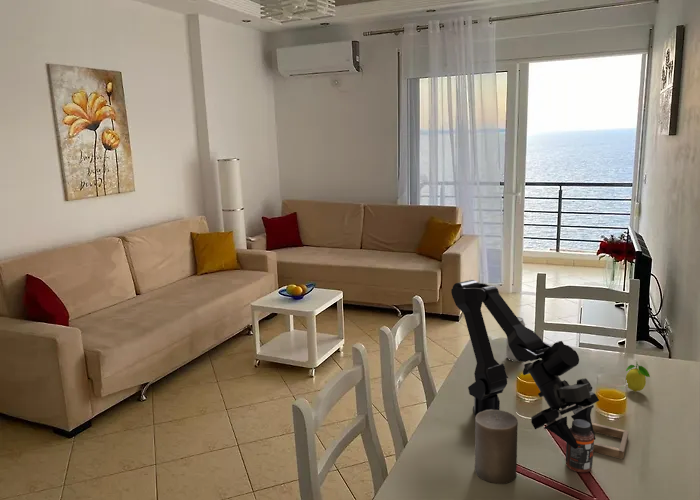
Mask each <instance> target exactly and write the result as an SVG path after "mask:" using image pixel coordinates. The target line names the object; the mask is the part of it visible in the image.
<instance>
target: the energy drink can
mask: <svg viewBox="0 0 700 500" xmlns="http://www.w3.org/2000/svg"><path fill="white" fill-rule="evenodd" d="M516 317H517V318H518V319H519V321H520V322H521V323H522V324H523V325H524V326H525V327H526V323H525V321H524V318H523V317H519V316H516ZM505 354H506V357H507V359H508V360H509V359H510V360H513V361H512V362H515V361H518V360H517V359H516V358H515V356H514V355H513V353H512V351H511V349H510V347H509V345H508V337H507V336H506V353H505ZM510 360H509V361H510ZM518 362H519V361H518Z"/></svg>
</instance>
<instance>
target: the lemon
mask: <svg viewBox="0 0 700 500" xmlns="http://www.w3.org/2000/svg"><path fill="white" fill-rule="evenodd" d="M635 363H636V365H635V364H629V366H627V368H626V370H625V371H626V372H627V371H628V372H627V373H626V377H625V381H626V380H627V383H628V387H627V388H628V389H629V390H631V391H632V392H633V393H637V392H641V391H642V390H644V388H645V387H646V383H647V380H646V377H647V378H651V377H650V373H649V371H648V369H646V368H645V366H642V365H639V364H638V361H636V362H635Z"/></svg>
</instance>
